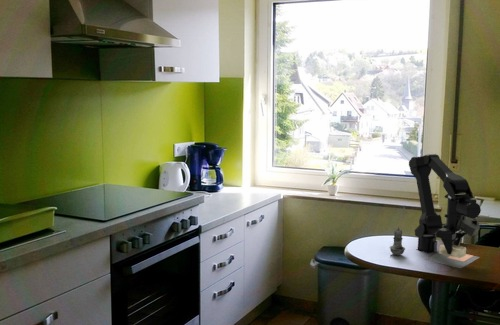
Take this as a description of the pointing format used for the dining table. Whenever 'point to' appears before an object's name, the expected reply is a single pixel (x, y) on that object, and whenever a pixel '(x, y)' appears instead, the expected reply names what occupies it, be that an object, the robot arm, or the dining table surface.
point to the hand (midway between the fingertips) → (452, 252)
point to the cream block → (453, 251)
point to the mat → (452, 260)
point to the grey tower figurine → (397, 243)
